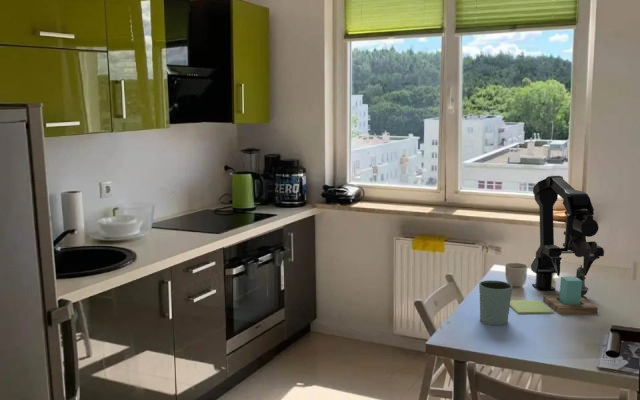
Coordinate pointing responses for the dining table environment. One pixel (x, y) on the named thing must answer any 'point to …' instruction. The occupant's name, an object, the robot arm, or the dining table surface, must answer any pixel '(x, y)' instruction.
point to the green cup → (494, 302)
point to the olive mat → (529, 307)
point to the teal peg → (570, 291)
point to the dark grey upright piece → (581, 276)
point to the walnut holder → (569, 306)
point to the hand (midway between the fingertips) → (571, 275)
